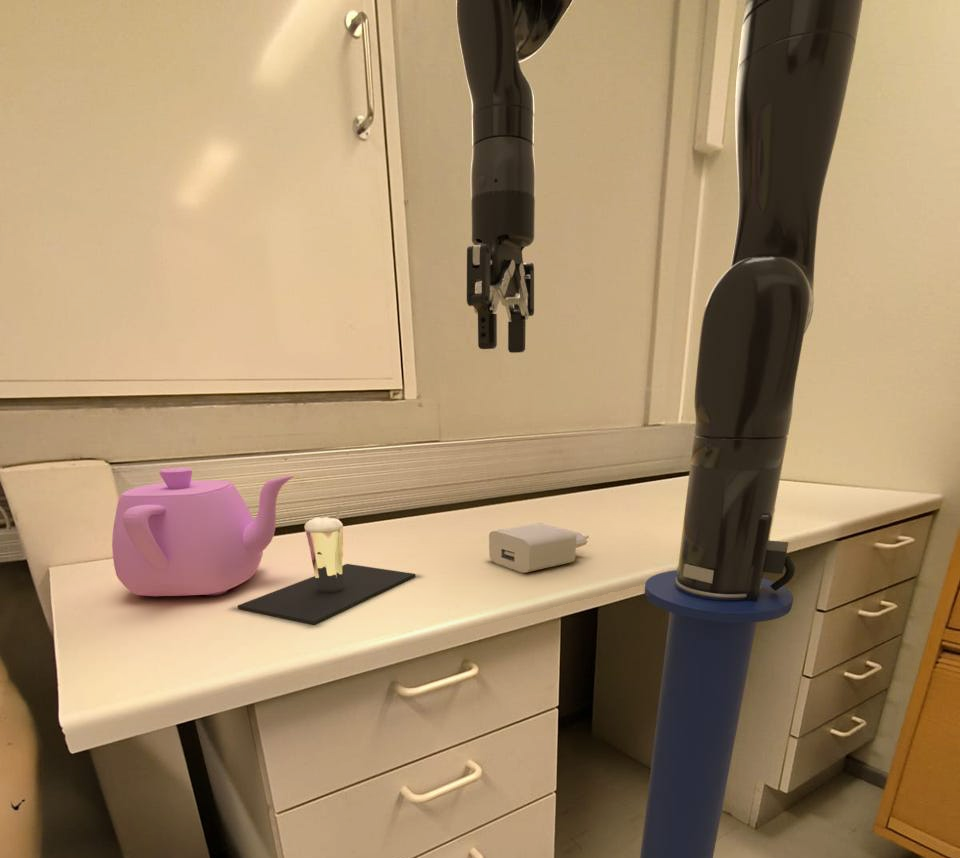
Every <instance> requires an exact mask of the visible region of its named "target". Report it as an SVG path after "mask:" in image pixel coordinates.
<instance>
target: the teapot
mask: <svg viewBox="0 0 960 858" xmlns="http://www.w3.org/2000/svg"><path fill="white" fill-rule="evenodd" d="M158 473H159V475H160V477H161V479H162V480H163V482H156V483H151V484H146V485H141V486H138V487H135V488H131V489H127V490H126V491H124V492H122V493H121V494H120V495H119V497H118V500H117V504H116V509H115V516H114V520H113V521H114V522H113V528H112V536H111V537H112V539H111V547H112V560H113V561H112V562H113V567H114V571H115V575H116V578H117V579H118V581H119V582H120V583H121V584H122V585H123V586H124V587H125V588H126V589H127V590H128V591H129V592H130V593H132V594H133V595H137V596H143V597H144V596H146V597H175V596H176V597H179V596H181V597H182V596H201V595H205V596H218V595H222V594H225V593H227V592H228V590H231V589H233V588H235V587H237V586H239V585H241V584H243V583H244V582H246V581H248V580H250V579H252V577H253V576H254V575H255V574H256V572H257V571H258V569H259V566H260V565H261V564H260V563H261V561H262V558H263V555H264V550H266V549H267V548H268V546H269V545H270V544H271V542H272V540H273V538H274V536H275V532H276V527H277V526H276V524H277V499H278V495H279V493H280V490H281V489H282V488H283V486H284V485H285V484H286V483H287V482H289V481H290V480H292V479H293V478H294V477H295V476H294V475H289V476H282V477H277V478H272V479H269V480H267V481H266V482H265V483H264V484H263V486H262V487H261V490H260V493H259V503H258V511H257V515H256V518H255V519H254V516H253V514H252V512H251V510H250V509H249V507H248V505H247V503H246V502H245V500H244V498H243V496H242V495H241V493H240V491H239V490H238V489H237V487H236V485H235V484H234V482H232V481H231V480H192V476H193V469H192V468H189V467H169V468H164V469H163V468H162V469H160V470H158Z"/></svg>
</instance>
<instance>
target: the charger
mask: <svg viewBox="0 0 960 858" xmlns="http://www.w3.org/2000/svg"><path fill="white" fill-rule="evenodd" d="M589 538H590V536H589V535H583V534H582V533H581V532H579V531H575V530H570V529H566V528H562V527H558V526H555V525H550V524H547V523H542V522H539V523H538V522H537V523H532V524H527V525H520V526H515V527H509V528H504V529H498V530H492V531H490V532H489V533H488V545H489V546H488V551H489V552H488V555H489V556H488V557H489V559H490V560H491V562H493V563H494V564H497V565H499V566H502V567H505V568H508V569H511V570H514V571H516V572H519V573H523V574H526V573H531V572H534V571H540V570H544V569H548V568H553V567H557V566H563V565H565V564H569V563H573V562H575V561H576V555H577V553H576V552H577V549H578V548H581V547H583V546H585V545H587V543H588V539H589Z"/></svg>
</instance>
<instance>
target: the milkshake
mask: <svg viewBox="0 0 960 858" xmlns="http://www.w3.org/2000/svg"><path fill="white" fill-rule="evenodd" d="M341 509H342V506H341V505H338V506H337V510H336V515H335V518H333V517H332V518H331V517H328V516H324V517H314V518H311V519H310V520H308V521H306V523H304V527H303V528H304V532H305V536H306V540H307V541H306V542H307V545H308V549H309V554H310V558H311V563H312V569H313V573H314V576H315V578H316V583H317V588H318V591H320V592H323V593H332V592H338V591H341V590H343V588H344V568H343V565H344V524H343V523H342V521H341V520H340V514H341Z"/></svg>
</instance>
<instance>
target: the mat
mask: <svg viewBox="0 0 960 858" xmlns="http://www.w3.org/2000/svg"><path fill="white" fill-rule="evenodd" d="M343 568H344V588H343V590H341V591H338V592H332V593H323V592H320V591H318V588H317V583H316V578H315V575H314V576H312V577H309V578H306V579H304V580H301V581H298V582H296V583H293V584H291V585H288V586H285V587H282V588H280V589H277V590H275V591H272V592H269V593H266V594H264V595H261V596H260V597H256V598H253V599H251V600H248V601H246V602H243V603H241V604H237V609H239V610H243V611H248V612H252V613H257V614H262V615H267V616H271V617H277V618H280V619H281V618H282V619H285V620H290V621H294V622H298V623H299V622H300V623H305V624H309V625H313V626H314V625H316V624H319V623H321V622H323V621H325V620H328V619H330V618H332V617H333V616H336V615H338V614H340V613H342V612H344V611H346V610H348V609H350V608H352V607H355V606H356V605H359V604H361V603H363V602H366V601H367V600H369V599H372V598H374V597H376V596H378V595H381V594H382V593H383V592H387V591H388V590H390V589H392V588H394V587H396V586H399V585H401V584H403V583H405V582H407V581H410V580H411V579H413V578H416V573H412V572H405V571H397V570H391V569H385V568H379V567H372V566H365V565H358V564H351V563H345V564H343Z"/></svg>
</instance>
